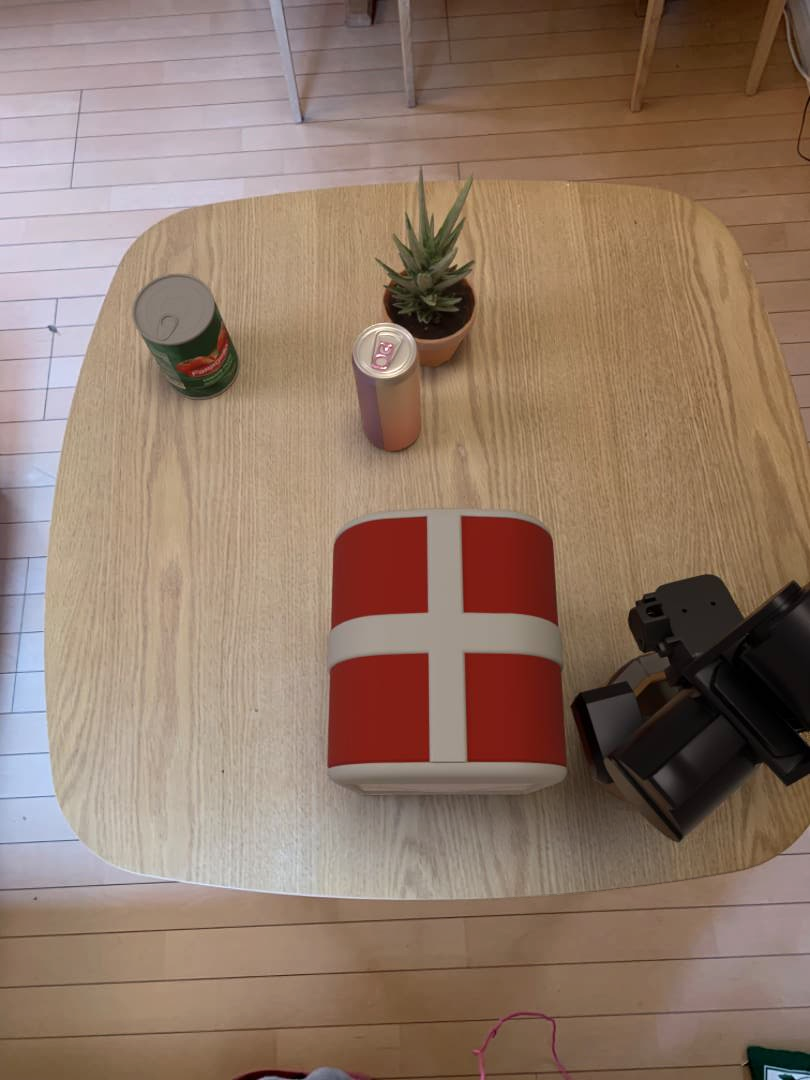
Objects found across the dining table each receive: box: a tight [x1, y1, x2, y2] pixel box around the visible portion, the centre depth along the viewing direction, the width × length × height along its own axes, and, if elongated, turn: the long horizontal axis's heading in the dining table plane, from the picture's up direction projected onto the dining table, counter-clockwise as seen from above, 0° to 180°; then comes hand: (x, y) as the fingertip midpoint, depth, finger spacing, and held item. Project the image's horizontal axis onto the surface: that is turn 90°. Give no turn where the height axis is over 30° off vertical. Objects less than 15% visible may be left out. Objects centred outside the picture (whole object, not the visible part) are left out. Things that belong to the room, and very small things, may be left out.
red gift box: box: [326, 507, 568, 796], centre depth 66 cm, size 16×18×27 cm
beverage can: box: [351, 322, 422, 451], centre depth 81 cm, size 6×6×15 cm
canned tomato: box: [131, 272, 240, 400], centre depth 86 cm, size 8×8×11 cm
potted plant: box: [373, 164, 478, 367], centre depth 79 cm, size 10×10×25 cm
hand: (681, 722), depth 66 cm, fingers open, 9 cm apart
